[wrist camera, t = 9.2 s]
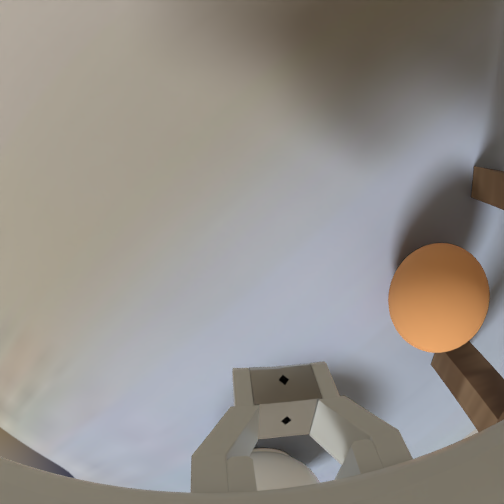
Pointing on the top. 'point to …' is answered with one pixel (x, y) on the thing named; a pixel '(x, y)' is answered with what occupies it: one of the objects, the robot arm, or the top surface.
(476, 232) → the top surface
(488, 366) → the bridge
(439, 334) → the ball
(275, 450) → the lidded jar
